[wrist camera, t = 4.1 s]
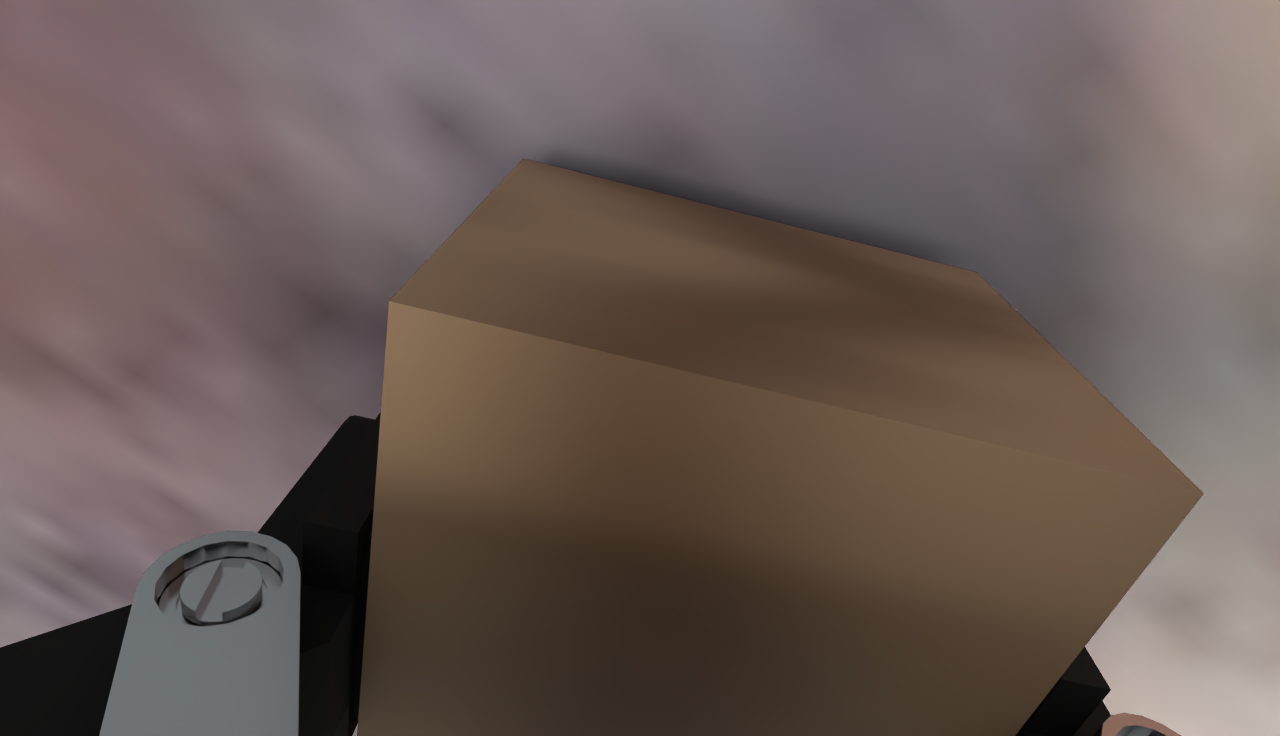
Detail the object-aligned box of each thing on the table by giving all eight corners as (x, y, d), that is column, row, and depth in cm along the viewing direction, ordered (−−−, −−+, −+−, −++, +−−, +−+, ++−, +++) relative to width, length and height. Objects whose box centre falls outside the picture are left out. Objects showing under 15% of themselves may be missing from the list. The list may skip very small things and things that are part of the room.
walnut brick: (976, 272, 10) (1202, 492, 6) (789, 650, 14) (838, 961, 9) (524, 158, 10) (388, 300, 5) (457, 579, 13) (347, 869, 9)
